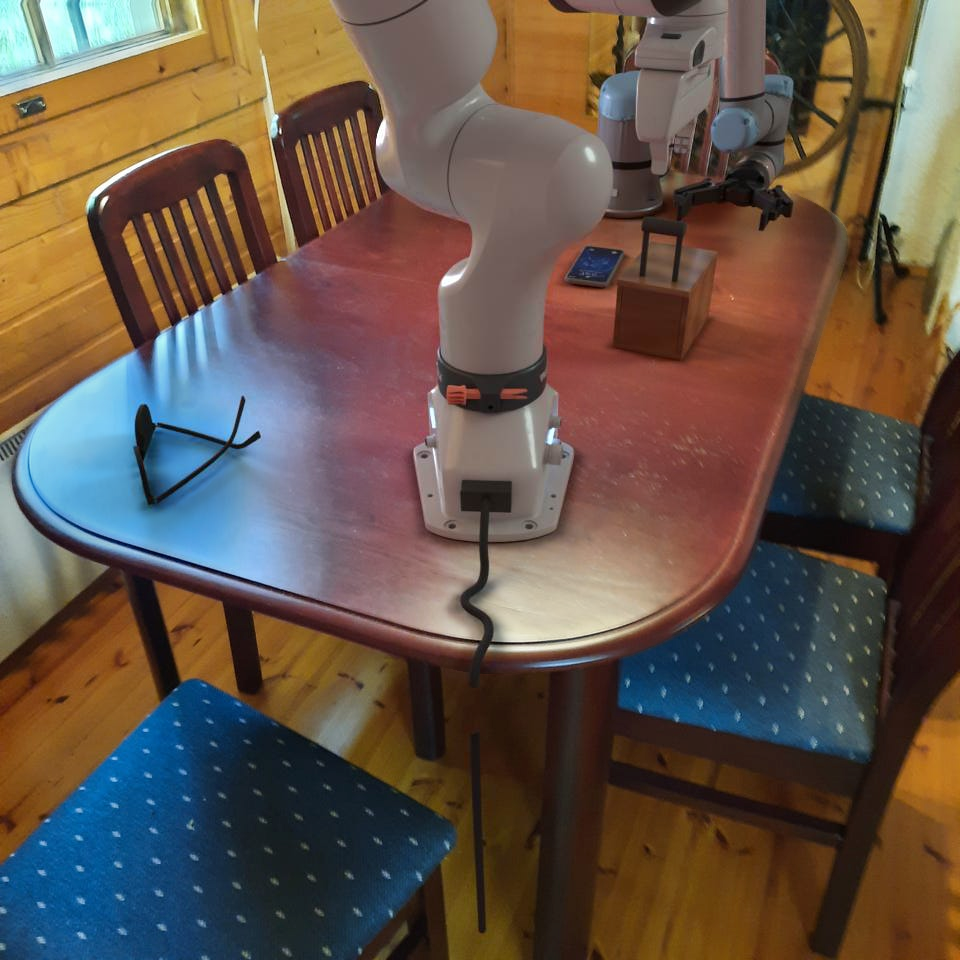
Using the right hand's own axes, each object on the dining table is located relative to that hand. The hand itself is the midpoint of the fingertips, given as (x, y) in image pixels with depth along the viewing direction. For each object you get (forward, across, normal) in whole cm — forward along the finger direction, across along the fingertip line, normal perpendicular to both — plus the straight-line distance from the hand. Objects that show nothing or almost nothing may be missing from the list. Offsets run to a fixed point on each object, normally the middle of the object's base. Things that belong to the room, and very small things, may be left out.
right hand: (719, 217), depth 141 cm
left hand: (+33, 0, +18) cm, 38 cm away
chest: (+28, +1, -8) cm, 29 cm away
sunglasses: (+82, +40, -7) cm, 92 cm away
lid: (+28, 0, +2) cm, 29 cm away
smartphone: (+11, +18, -7) cm, 22 cm away
